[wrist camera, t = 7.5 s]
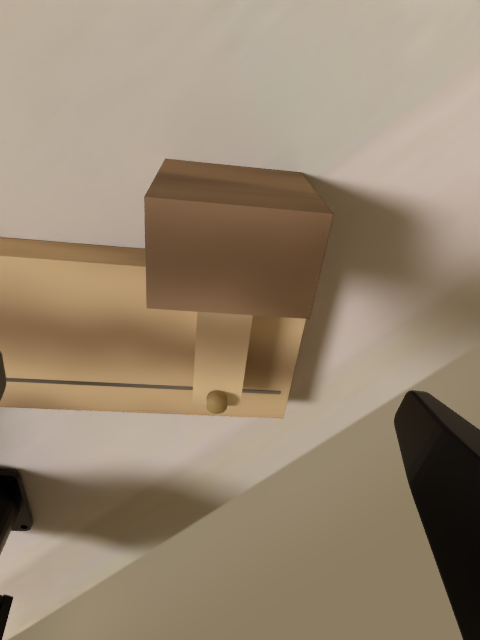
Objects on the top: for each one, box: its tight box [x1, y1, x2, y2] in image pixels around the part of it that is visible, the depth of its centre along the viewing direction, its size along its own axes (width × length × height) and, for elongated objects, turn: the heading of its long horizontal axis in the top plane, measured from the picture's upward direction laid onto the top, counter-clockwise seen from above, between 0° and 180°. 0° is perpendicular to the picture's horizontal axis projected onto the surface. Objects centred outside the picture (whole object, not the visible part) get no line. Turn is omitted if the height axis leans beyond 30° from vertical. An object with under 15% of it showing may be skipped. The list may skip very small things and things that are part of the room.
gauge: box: [144, 159, 333, 414], centre depth 18 cm, size 11×6×6 cm, turn 174°
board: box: [0, 237, 306, 418], centre depth 21 cm, size 9×22×2 cm, turn 84°
